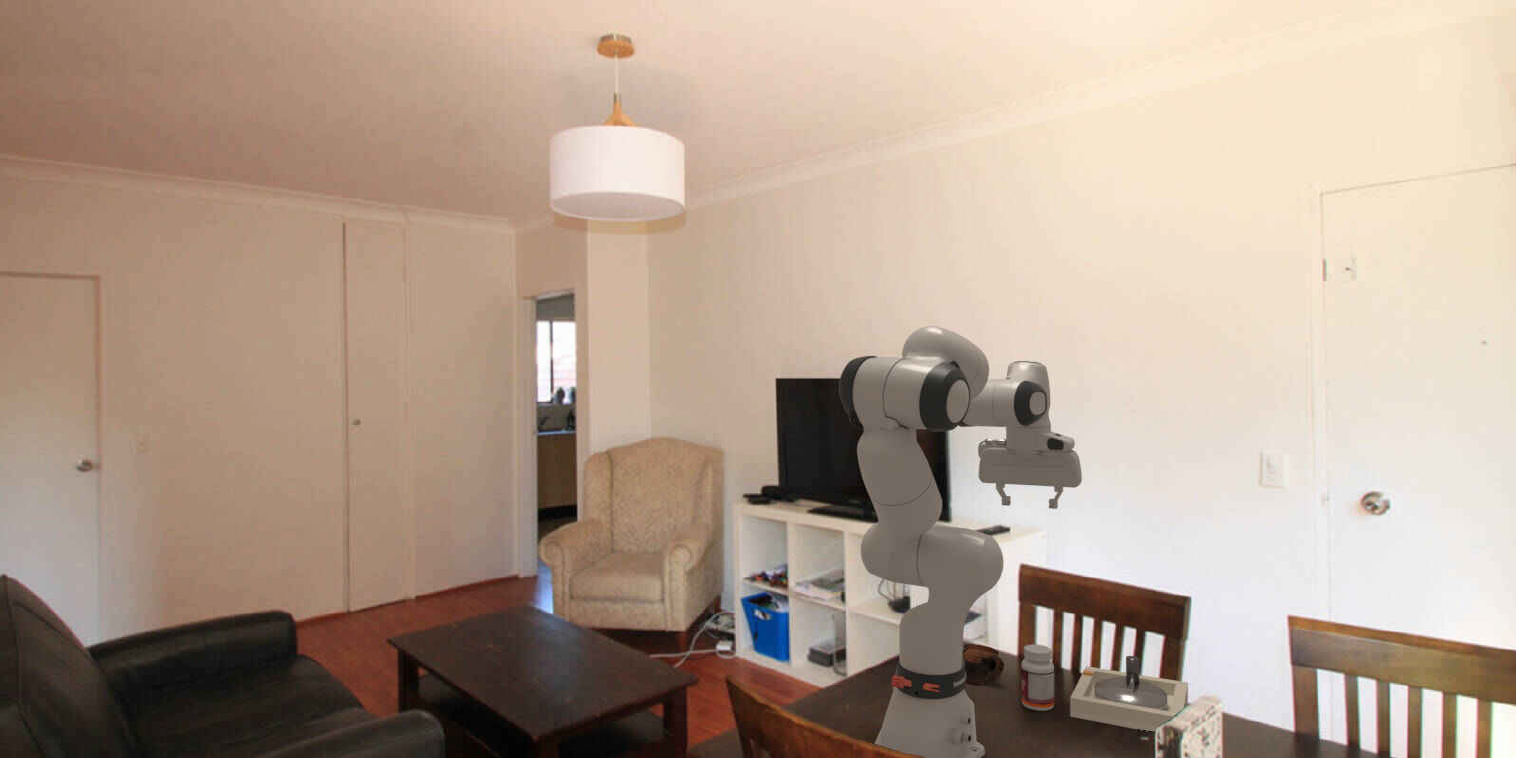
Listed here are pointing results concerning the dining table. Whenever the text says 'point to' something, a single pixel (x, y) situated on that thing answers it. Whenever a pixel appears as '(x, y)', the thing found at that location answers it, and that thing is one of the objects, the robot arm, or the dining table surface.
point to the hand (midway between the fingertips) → (1029, 506)
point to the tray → (1121, 713)
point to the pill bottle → (1037, 678)
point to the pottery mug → (981, 663)
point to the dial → (1131, 689)
